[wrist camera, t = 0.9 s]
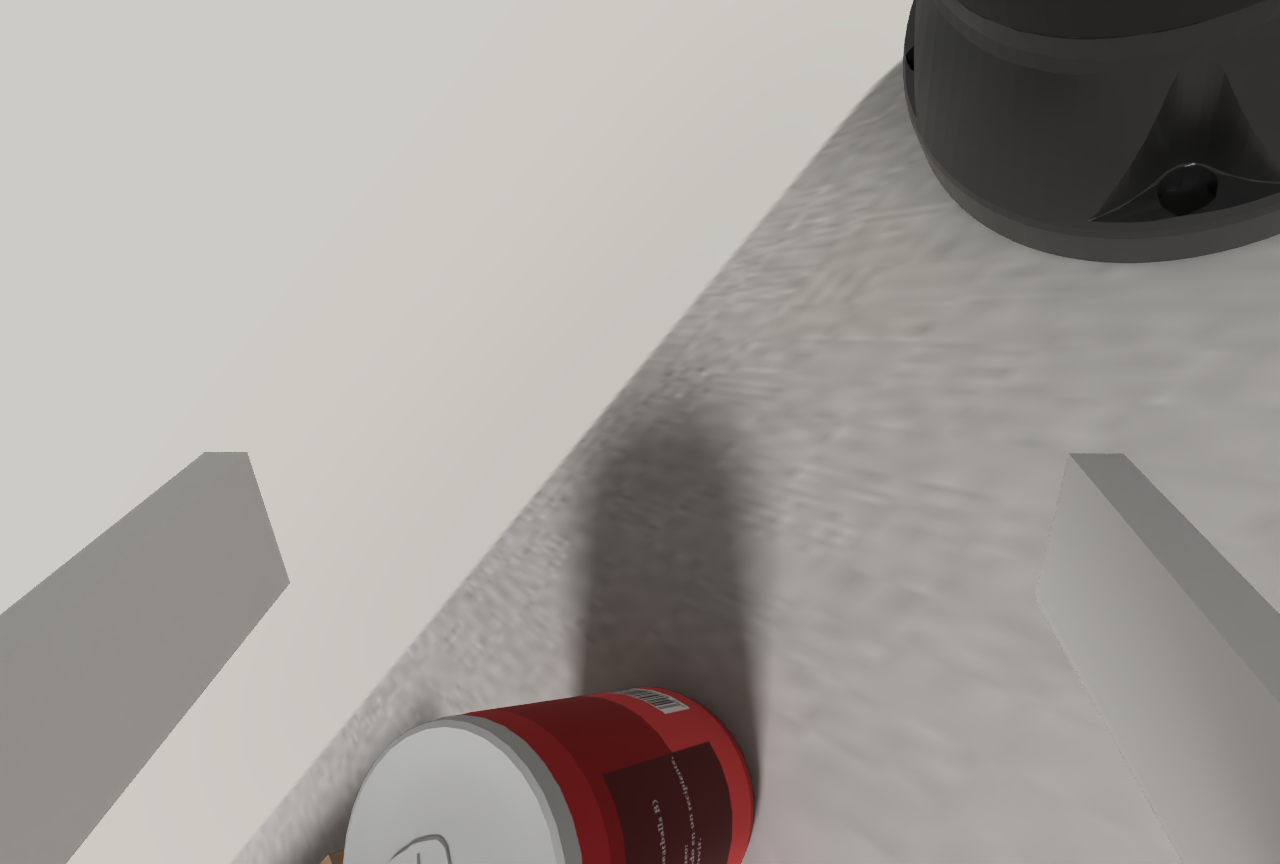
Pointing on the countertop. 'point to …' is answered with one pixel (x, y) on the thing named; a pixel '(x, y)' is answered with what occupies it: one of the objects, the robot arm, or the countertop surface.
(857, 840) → the countertop surface
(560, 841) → the canned food
